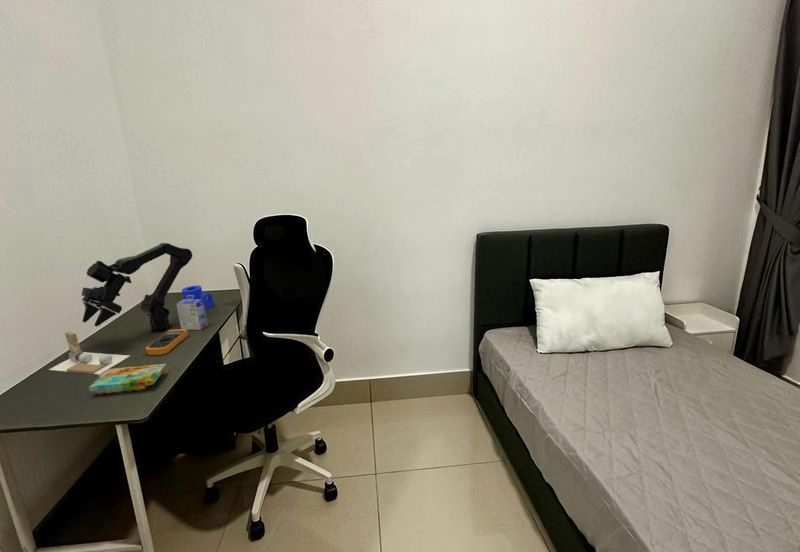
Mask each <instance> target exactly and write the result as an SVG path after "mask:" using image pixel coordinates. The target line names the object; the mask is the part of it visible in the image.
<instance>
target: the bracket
mask: <svg viewBox="0 0 800 552" xmlns="http://www.w3.org/2000/svg"><path fill="white" fill-rule="evenodd" d="M181 292H182V293H181V294H182V300H186V297H187V295H194V299H203V303H204V308H205V311H206V310H208V309H212V308H214V307H216V306H215V301H214V297H213V295H212V293H209V292H203V287H202V286H201V285H190V286H186V287H184V288H182V289H181ZM188 298H193V297H191V296H190V297H188Z"/></svg>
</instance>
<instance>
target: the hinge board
mask: <svg viewBox="0 0 800 552" xmlns="http://www.w3.org/2000/svg"><path fill="white" fill-rule="evenodd" d="M83 352H84V353H83V354H81V355H80V356H79V361H80V362H78V363H76V362H74V361H72V360H71V359H70V358H68V359H66V360H65V361H62V362H60V363H58V364H56V365H55V366H53V367H51V368H49V369H48V370H49V371H55V372H56V371H58V372H69V373H81V374H93V375H94V374H95V377H98V378H99V377H100V376H101V375H102V374H103V373H104V372H105V371H106V370H108V369H114V368H115V365H117V364H119V363H121V362H123V361H124V360H126V359H127V358H129V357H130V355H128V354H127V355H126V354H124V355H123V354H114V353H113V354H112V353H100V352H99V353H98V352H85V351H83ZM112 367H113V368H112Z"/></svg>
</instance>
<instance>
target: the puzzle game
mask: <svg viewBox="0 0 800 552" xmlns="http://www.w3.org/2000/svg"><path fill="white" fill-rule="evenodd" d="M167 367H168V366H167V363H161V364H151V365H149V364H148V365H139V366H126V367H125V366H124V367H118V368H117V367H113V368H114V369H112V368H109V369H107V370H106V371H104V373H103V372H102V373H103V374H102V375H101V376H100V377H98V378H96V380H95V381H94V382H93V383H92V384H91V385H90V386H89V387H88V390H89V392H91V393H93V394H95V395H97V394H98V395H102V394H101V393H107V394H112V393H111V392H117V393H122V392H121V391H127V392H132V391H131V390H136V391H142V390H141V389H144V390H145V389H146V388H147V387H148V386H152V385H154V384H155V382H157V380H158V378H160V376H161V375H162V374H163V372H164V371H165V370H166V369H167Z"/></svg>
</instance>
